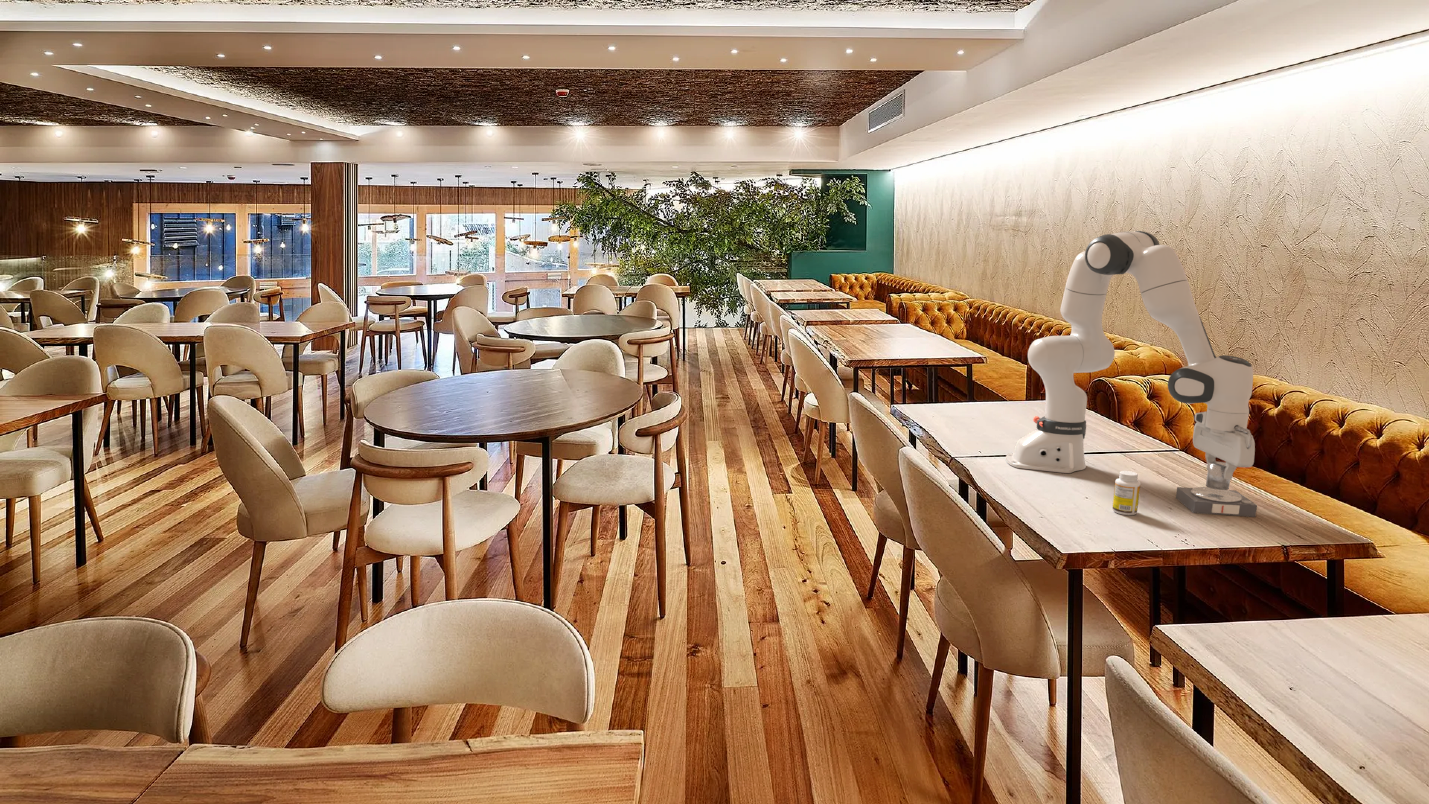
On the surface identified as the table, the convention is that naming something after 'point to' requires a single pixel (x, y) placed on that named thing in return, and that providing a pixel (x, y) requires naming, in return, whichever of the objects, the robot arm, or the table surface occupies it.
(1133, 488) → the supplement bottle
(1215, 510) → the scale base
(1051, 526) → the table surface
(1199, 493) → the scale pan
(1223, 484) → the cylinder
